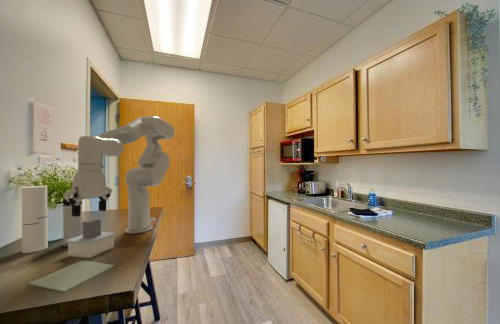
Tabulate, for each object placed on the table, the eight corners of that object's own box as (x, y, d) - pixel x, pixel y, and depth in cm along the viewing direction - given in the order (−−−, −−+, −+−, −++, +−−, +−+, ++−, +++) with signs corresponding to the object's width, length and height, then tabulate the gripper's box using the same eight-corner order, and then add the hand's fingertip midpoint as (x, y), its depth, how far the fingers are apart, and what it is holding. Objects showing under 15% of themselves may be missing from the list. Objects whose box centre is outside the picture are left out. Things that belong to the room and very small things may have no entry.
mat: (82, 261, 71) (82, 260, 71) (113, 266, 67) (113, 265, 67) (29, 284, 58) (29, 282, 58) (64, 292, 54) (64, 290, 54)
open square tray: (95, 245, 86) (95, 233, 86) (114, 247, 83) (113, 235, 83) (68, 255, 76) (68, 242, 76) (88, 258, 73) (88, 244, 73)
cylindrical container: (52, 246, 85) (51, 185, 85) (28, 254, 78) (28, 187, 78) (41, 244, 87) (40, 185, 87) (17, 251, 80) (17, 187, 81)
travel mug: (72, 247, 84) (71, 198, 84) (59, 246, 85) (58, 197, 85) (87, 241, 90) (86, 195, 90) (74, 240, 91) (74, 195, 92)
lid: (95, 232, 86) (95, 216, 86) (115, 234, 83) (115, 217, 83) (65, 242, 76) (65, 223, 76) (87, 245, 73) (87, 225, 73)
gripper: (104, 168, 89) (104, 208, 88) (57, 168, 72) (56, 218, 72) (118, 168, 87) (118, 209, 86) (72, 168, 70) (72, 219, 70)
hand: (90, 213), depth 79 cm, fingers open, 9 cm apart
